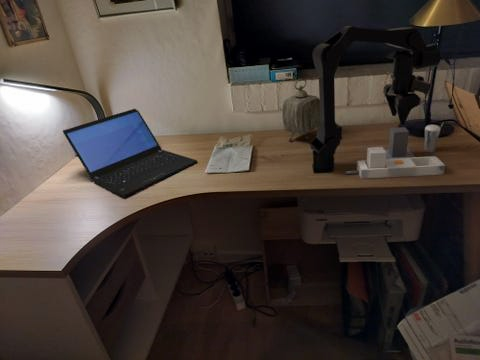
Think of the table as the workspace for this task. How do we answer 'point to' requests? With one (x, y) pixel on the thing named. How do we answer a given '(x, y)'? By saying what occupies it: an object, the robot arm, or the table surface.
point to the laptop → (123, 153)
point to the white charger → (376, 157)
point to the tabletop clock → (301, 112)
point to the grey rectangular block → (398, 142)
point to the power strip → (401, 168)
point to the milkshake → (431, 137)
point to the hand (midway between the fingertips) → (398, 120)
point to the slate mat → (408, 155)
